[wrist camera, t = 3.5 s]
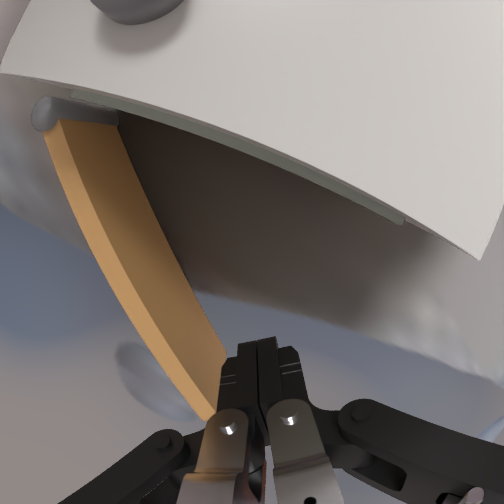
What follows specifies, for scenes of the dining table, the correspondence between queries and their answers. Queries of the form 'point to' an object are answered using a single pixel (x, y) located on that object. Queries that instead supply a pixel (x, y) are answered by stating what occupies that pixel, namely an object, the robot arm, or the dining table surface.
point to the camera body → (305, 90)
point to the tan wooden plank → (132, 246)
